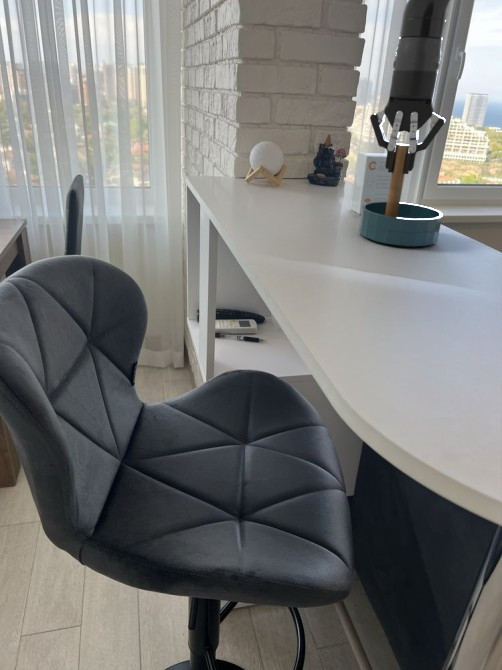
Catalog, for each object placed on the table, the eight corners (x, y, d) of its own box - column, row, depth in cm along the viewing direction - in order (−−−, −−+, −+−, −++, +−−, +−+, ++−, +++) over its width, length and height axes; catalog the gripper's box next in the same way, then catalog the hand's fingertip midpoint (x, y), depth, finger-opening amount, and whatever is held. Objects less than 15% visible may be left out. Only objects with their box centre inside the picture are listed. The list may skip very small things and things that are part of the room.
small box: (381, 209, 124) (390, 153, 118) (391, 215, 118) (401, 156, 112) (349, 208, 122) (357, 152, 117) (358, 214, 117) (367, 155, 111)
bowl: (437, 234, 104) (443, 207, 102) (434, 253, 91) (441, 223, 89) (365, 224, 108) (369, 198, 106) (352, 241, 96) (356, 212, 93)
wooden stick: (396, 224, 100) (410, 144, 94) (395, 227, 98) (409, 145, 92) (384, 223, 101) (397, 143, 94) (382, 225, 99) (395, 144, 92)
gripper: (458, 71, 89) (437, 173, 96) (378, 68, 93) (364, 166, 100) (457, 69, 82) (435, 179, 90) (372, 66, 86) (358, 171, 94)
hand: (398, 172), depth 95 cm, fingers closed on wooden stick, 2 cm apart
